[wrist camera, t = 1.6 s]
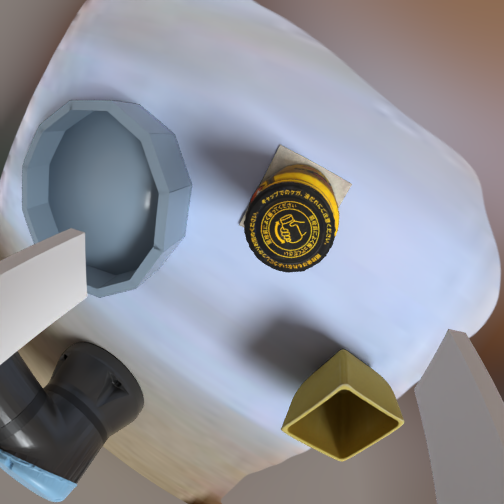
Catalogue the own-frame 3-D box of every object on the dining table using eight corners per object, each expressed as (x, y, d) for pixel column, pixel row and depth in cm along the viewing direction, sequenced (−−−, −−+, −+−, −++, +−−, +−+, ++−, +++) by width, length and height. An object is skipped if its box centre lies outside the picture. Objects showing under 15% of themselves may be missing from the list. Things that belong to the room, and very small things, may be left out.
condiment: (351, 183, 27) (373, 210, 16) (306, 260, 31) (297, 327, 19) (280, 144, 28) (254, 143, 16) (239, 224, 31) (193, 271, 20)
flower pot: (289, 373, 35) (278, 431, 27) (340, 326, 32) (344, 383, 24) (342, 407, 36) (341, 463, 27) (394, 366, 32) (407, 423, 24)
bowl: (178, 297, 35) (158, 319, 30) (51, 253, 37) (26, 265, 33) (204, 110, 28) (183, 105, 23) (57, 102, 30) (28, 102, 26)
